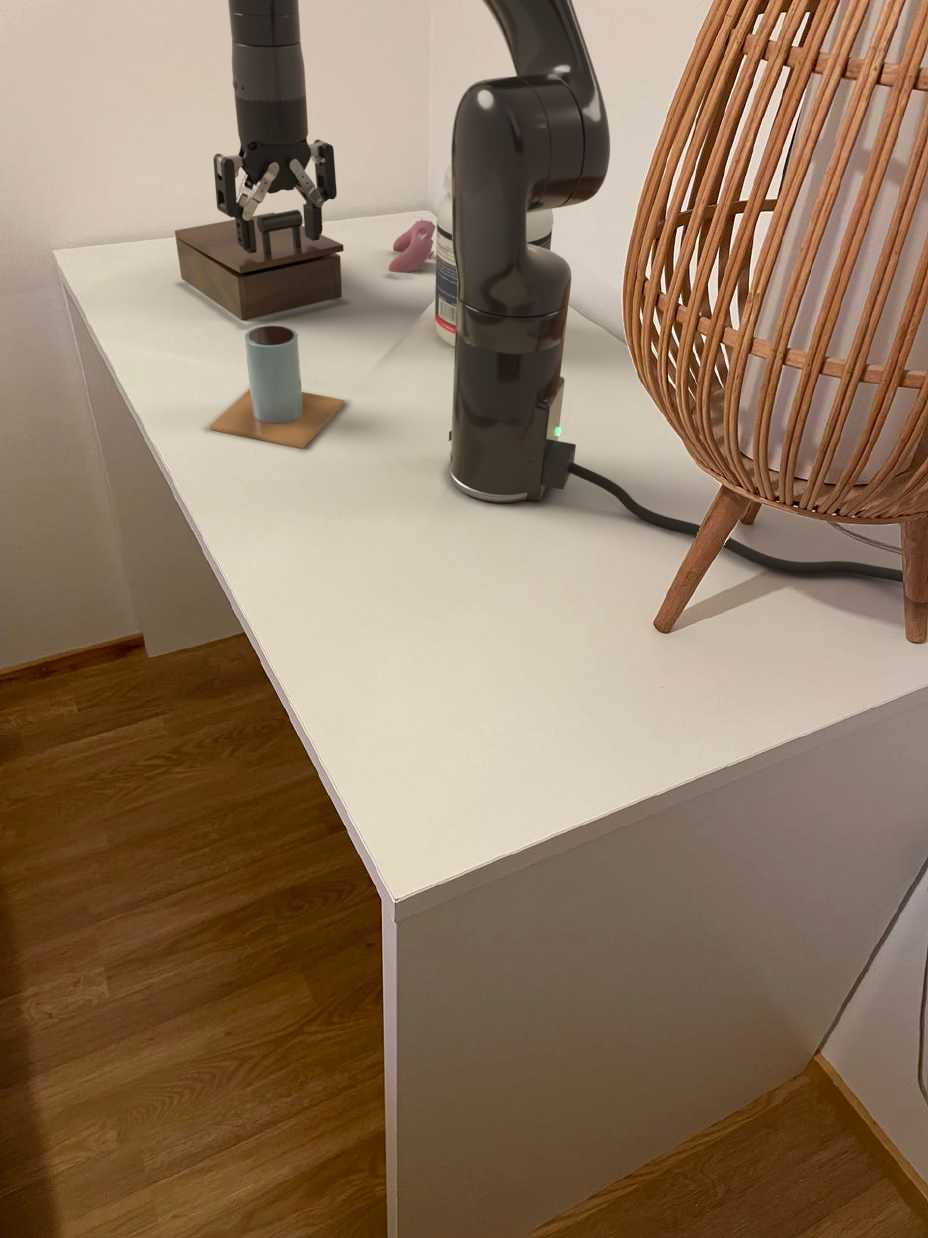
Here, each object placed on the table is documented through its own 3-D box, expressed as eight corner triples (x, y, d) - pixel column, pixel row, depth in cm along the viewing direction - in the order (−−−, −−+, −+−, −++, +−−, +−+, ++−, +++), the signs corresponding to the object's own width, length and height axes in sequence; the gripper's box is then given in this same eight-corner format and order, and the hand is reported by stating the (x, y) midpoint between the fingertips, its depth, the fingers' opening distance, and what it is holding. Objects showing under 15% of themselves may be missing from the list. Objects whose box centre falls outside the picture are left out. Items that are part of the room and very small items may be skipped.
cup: (311, 405, 99) (306, 329, 94) (289, 427, 96) (283, 349, 90) (266, 396, 100) (259, 320, 95) (243, 418, 97) (235, 340, 92)
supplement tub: (545, 319, 120) (561, 160, 108) (538, 364, 110) (555, 194, 98) (441, 310, 121) (446, 150, 109) (425, 353, 111) (429, 183, 99)
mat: (344, 403, 101) (344, 399, 101) (303, 448, 93) (303, 444, 93) (256, 386, 103) (256, 382, 103) (209, 429, 95) (209, 425, 95)
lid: (344, 251, 116) (341, 208, 113) (240, 273, 109) (234, 228, 106) (274, 218, 126) (270, 178, 123) (175, 236, 120) (168, 194, 117)
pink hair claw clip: (416, 291, 129) (441, 244, 125) (385, 274, 128) (409, 226, 124) (419, 264, 137) (443, 219, 133) (390, 248, 135) (413, 202, 131)
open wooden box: (342, 303, 121) (340, 255, 117) (242, 327, 114) (237, 277, 110) (277, 264, 130) (274, 218, 127) (182, 284, 123) (175, 237, 120)
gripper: (226, 103, 97) (242, 266, 108) (346, 89, 105) (350, 243, 115) (191, 88, 102) (210, 246, 112) (309, 76, 109) (317, 225, 119)
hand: (281, 244), depth 114 cm, fingers open, 8 cm apart
